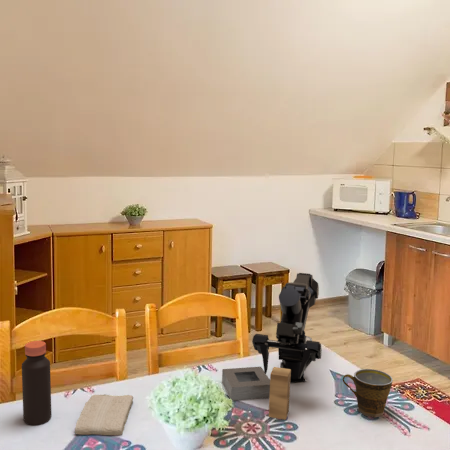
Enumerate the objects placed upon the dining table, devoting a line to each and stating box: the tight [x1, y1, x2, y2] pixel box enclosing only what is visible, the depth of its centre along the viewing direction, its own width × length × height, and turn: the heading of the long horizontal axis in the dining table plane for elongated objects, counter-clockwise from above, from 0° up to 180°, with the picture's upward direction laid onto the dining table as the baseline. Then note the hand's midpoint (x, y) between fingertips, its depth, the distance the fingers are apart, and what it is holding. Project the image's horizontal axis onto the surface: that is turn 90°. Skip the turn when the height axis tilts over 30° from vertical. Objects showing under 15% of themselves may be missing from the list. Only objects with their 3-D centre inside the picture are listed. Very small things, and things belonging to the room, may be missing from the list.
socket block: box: [221, 366, 270, 402], centre depth 152 cm, size 12×12×4 cm
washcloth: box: [74, 393, 134, 436], centre depth 134 cm, size 12×18×3 cm, turn 2°
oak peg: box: [268, 366, 291, 420], centre depth 138 cm, size 5×5×12 cm
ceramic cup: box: [342, 368, 394, 418], centre depth 141 cm, size 13×10×10 cm
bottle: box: [21, 340, 52, 426], centre depth 131 cm, size 7×7×20 cm
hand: (282, 375), depth 139 cm, fingers open, 9 cm apart
